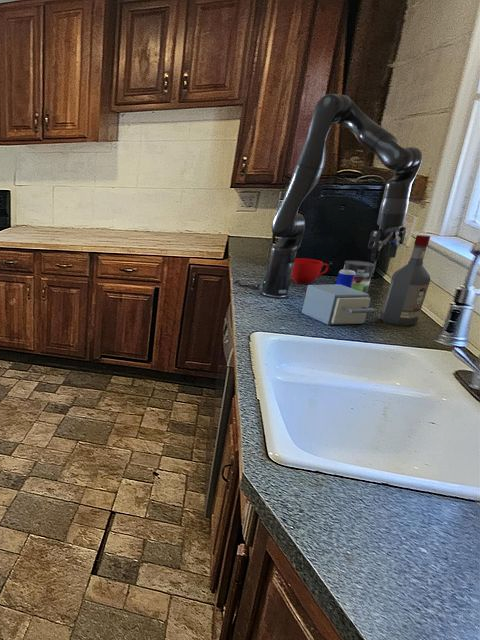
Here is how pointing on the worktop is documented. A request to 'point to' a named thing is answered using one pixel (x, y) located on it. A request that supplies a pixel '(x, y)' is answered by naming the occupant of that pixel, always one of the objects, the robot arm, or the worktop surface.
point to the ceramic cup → (307, 270)
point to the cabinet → (326, 300)
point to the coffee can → (360, 274)
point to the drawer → (350, 310)
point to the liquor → (408, 288)
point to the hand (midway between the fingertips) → (382, 259)
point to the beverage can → (346, 277)
